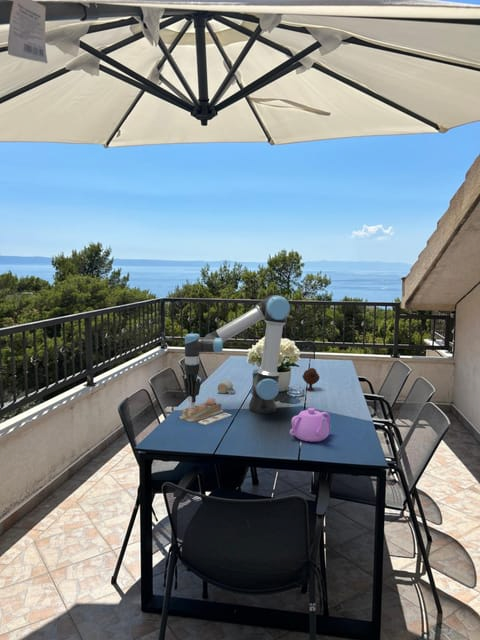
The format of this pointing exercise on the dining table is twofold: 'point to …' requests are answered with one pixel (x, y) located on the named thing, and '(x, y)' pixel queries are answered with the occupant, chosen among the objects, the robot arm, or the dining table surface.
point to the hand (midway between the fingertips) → (192, 407)
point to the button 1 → (192, 409)
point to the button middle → (201, 406)
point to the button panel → (201, 412)
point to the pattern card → (214, 418)
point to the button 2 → (210, 402)
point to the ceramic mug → (226, 387)
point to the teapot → (310, 425)
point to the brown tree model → (311, 378)
